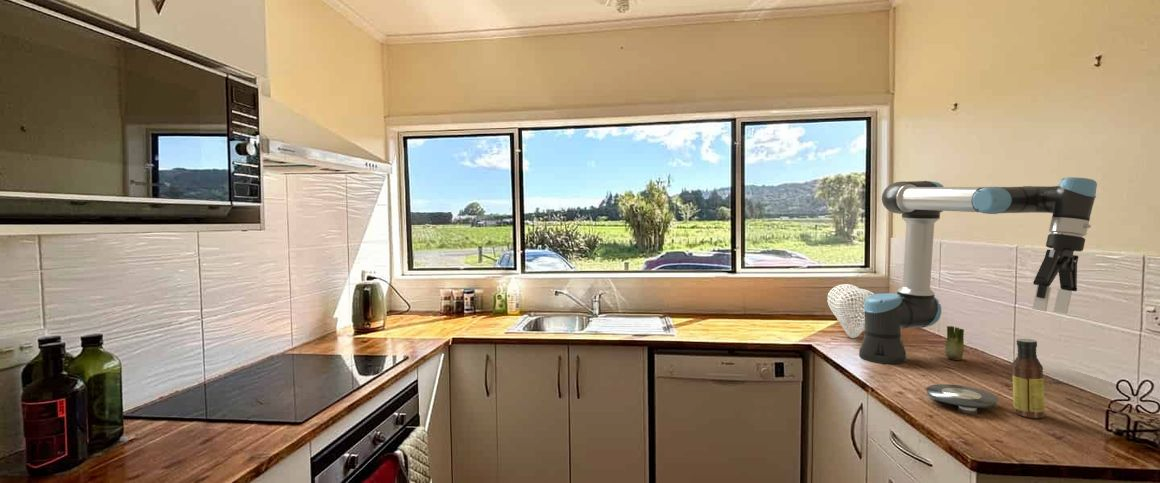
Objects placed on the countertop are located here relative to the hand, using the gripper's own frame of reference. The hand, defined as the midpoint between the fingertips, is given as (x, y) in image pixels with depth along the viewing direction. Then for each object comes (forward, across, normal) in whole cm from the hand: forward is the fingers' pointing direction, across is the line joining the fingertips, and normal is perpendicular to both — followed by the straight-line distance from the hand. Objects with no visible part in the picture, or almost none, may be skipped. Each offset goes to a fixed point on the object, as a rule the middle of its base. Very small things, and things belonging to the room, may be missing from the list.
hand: (1049, 311), depth 141 cm
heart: (+29, +31, +72) cm, 84 cm away
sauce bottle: (+28, -9, -3) cm, 29 cm away
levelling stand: (+30, -15, +10) cm, 34 cm away
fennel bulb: (+25, +31, +34) cm, 52 cm away
